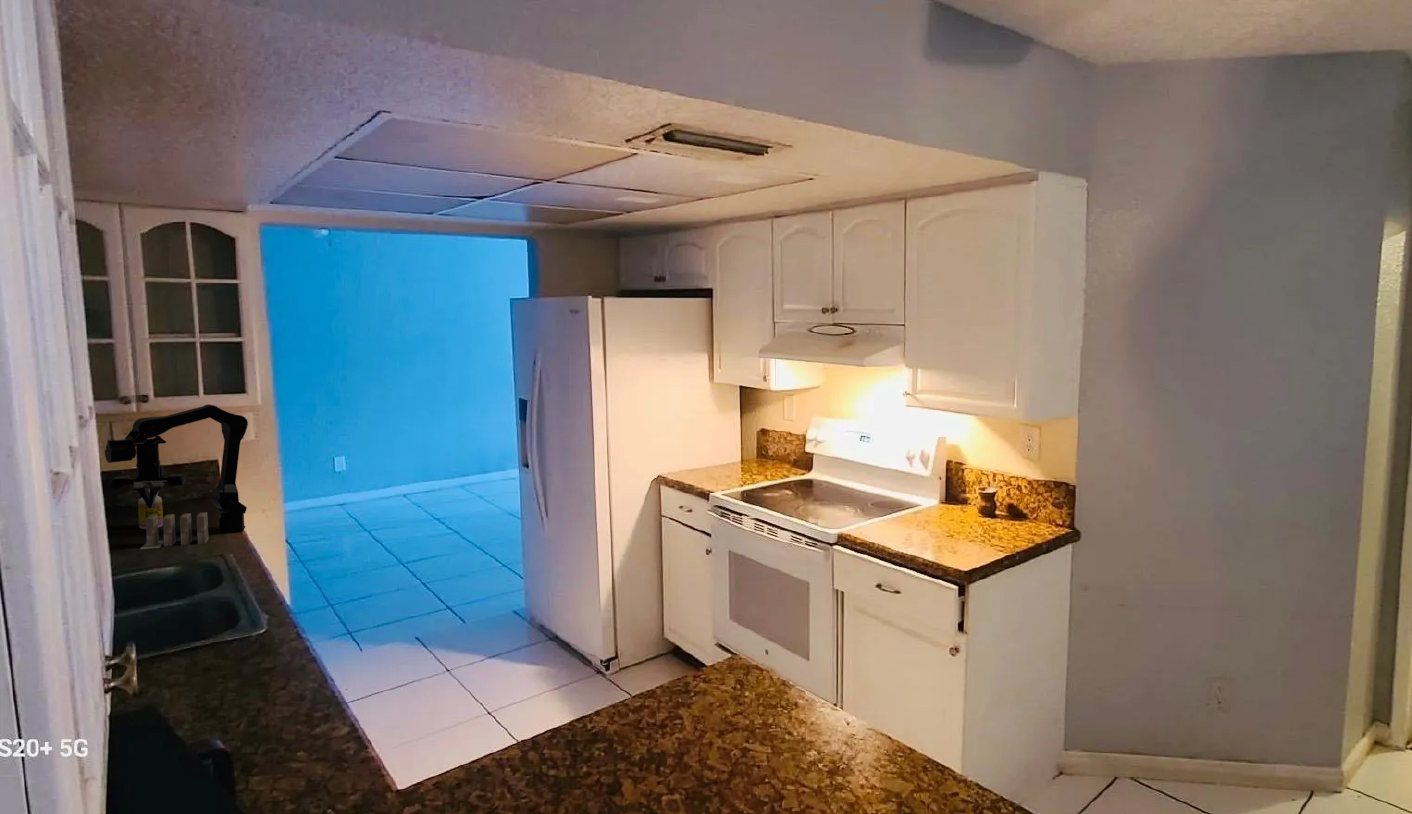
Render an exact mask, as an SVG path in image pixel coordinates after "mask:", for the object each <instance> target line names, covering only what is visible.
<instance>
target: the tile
mask: <svg viewBox="0 0 1412 814" xmlns="http://www.w3.org/2000/svg"><path fill="white" fill-rule="evenodd" d="M145 530H146V531H145V532H146V533H145V534H146V543H147V547H155V546H156V545H157V544H158V543H159V541H160V538H159V537H160V535H159V528H158V515H150V516H148V517H147V518H146V529H145Z"/></svg>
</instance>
